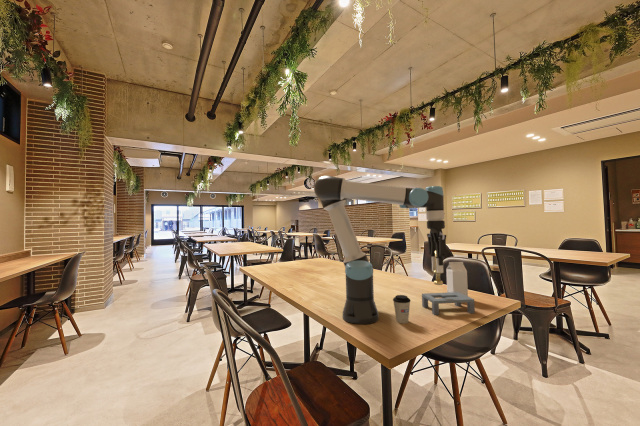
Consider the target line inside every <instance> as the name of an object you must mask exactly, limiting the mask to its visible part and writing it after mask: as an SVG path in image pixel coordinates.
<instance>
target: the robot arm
mask: <svg viewBox="0 0 640 426" xmlns="http://www.w3.org/2000/svg"><path fill="white" fill-rule="evenodd" d="M313 191H314V194H315V196H316V197H317V198H318V199H319V200H320V204H321V206H322V209H323V210H325V211H327V213H328V216H329V218H330V221H331V223H332V224H331V225H332V226H333V229H334V232H335V234H336V237H337V240H338V243H339V245H340V248H341V251H342V254H343V256H344V259H343V260H342V261H343V265H344V267H345V270H344V273H345V292H346V293H345V294H346V295H345V297H346V299H345V303H344V306H343V309H342V319H343V320H344V322H347V323H351V324H354V325H355V324H356V325H370V324H373V323H376V322H377V321H378V320H379V317H380V316H379V311H378V308H377V305H376V302H375V297H374V295H375V293H374V268H373V264H372V263H371V262H370V261H369V258H368V256H367V253H365V252H363V251H362V249H361V247H360V243H359V241H358V238H357V236H356V233H355V231H354V228H353V225H352V222H351V220H350V217H349V214H348V211H347V209H346V207H345V203H346V202H347V200H346V199H348V200H355V201H356V200H357V201H366V202H373V203H382V204H384V203H385V204H390V205H391V204H392V205H399V208H400V209H407V210H408V209H420V208H423V209H424V208H426V209H425V211H426V212H425V213H426V214H425V215H426V216H425V217H426V220H427V221H426V229H428V230H429V233H426V236H427V245H428V255H430V257H431V271H432V272H433V270H436V267H435V251H437V257H436V265H437V273H442V274H444V258H446V257H447V243H446V242H447V234H444V233H443V229H445V227H446V225H445V224H446V223H445V207H444V206H445V204H444V203H445V202H444V198H445V197H444V196H445V195H444V188H443V187H442V186H440V185H433V186H431V185H430V186H426V187H425V188H421V187H415V188H414V187H406V186H405V187H404V186H396V185H387V184H377V183H370V182H369V183H368V182H361V181H351V180H346V178H343V177H338V176H337V177H336V176H331V175H323V176H320V177H319V178H318V179H317V180H316V181H315V182H314V185H313Z"/></svg>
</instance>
